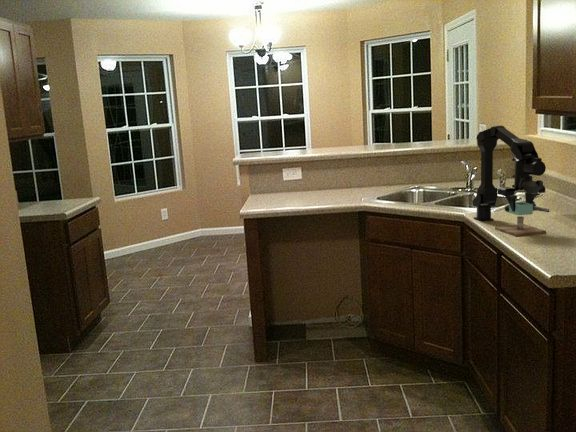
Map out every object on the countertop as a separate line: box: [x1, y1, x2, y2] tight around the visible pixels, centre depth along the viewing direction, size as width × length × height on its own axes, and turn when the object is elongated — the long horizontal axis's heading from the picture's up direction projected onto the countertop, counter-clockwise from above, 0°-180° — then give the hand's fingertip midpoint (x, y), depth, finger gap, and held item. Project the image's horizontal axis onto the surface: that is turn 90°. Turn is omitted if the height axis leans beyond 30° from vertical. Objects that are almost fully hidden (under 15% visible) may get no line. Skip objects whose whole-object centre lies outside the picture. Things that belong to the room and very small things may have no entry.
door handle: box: [504, 200, 550, 213], centre depth 283 cm, size 3×20×16 cm
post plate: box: [494, 215, 547, 237], centre depth 241 cm, size 14×14×6 cm
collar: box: [508, 201, 534, 216], centre depth 240 cm, size 6×6×4 cm
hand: (520, 210), depth 240 cm, fingers closed on collar, 6 cm apart
